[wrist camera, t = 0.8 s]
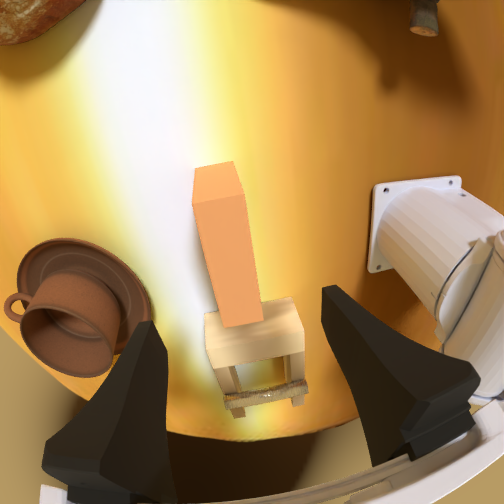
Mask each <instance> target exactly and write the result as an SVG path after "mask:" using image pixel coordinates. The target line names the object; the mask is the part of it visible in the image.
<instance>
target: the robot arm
mask: <svg viewBox="0 0 504 504" xmlns="http://www.w3.org/2000/svg"><path fill="white" fill-rule="evenodd" d="M449 182H450V183H449ZM385 188H387V189H386V191H385V192H383V191H384V189H385ZM378 265H379V266H378ZM377 266H378V267H377ZM392 268H394V269H395V270H396V271H397V272H398V274H399V275H400V276H401V277H402V278H403V280H404V281H405V282H406V283H407V284H408V286H409V287H410V288H411V289H412V290H413V292H414V293H415V294H416V295H417V297H418V298H419V299H420V300H421V302H422V303H423V304H424V305H425V307H426V308H427V309H428V311H429V312H430V313H431V314H432V316H433V317H434V318H435V320H436V321H437V327H436V329H435V331H434V333H435V335H436V336H437V337H438V339H439V340H440V342H441V343H442V345H441V346H440V348H439V352H437V351H434V350H432V349H429V348H427V347H425V346H423V345H421V344H419V343H417V342H414V341H413V340H411V339H409V338H407V337H405V336H403V335H402V334H400V333H398V332H397V331H395V330H393V329H392V328H390V327H389V326H387V325H386V324H384V323H383V322H382V321H380V320H379V319H377V318H376V317H375V316H373V315H372V314H371V313H370V312H368V311H367V310H366V309H364V308H363V307H362V306H361V305H359V304H358V303H357V302H356V301H355V300H353V299H352V298H351V297H350V296H349V295H348V294H346V293H345V292H344V291H343V290H342V289H341V288H339V287H338V286H337V285H331V286H327V287H323V288H322V312H321V323H322V326H323V329H324V332H325V334H326V337H327V340H328V343H329V345H330V347H331V349H332V351H333V353H334V355H335V357H336V359H337V361H338V363H339V365H340V367H341V369H342V371H343V373H344V375H345V377H346V380H347V382H348V384H349V386H350V389H351V392H352V394H353V397H354V400H355V403H356V406H357V409H358V413H359V416H360V419H361V422H362V426H363V430H364V433H365V437H366V441H367V445H368V449H369V453H370V458H371V462H372V467H373V468H370V469H368V470H365V471H362V472H359V473H356V474H353V475H350V476H347V477H344V478H341V479H338V480H335V481H331V482H328V483H324V484H321V485H317V486H313V487H309V488H305V489H301V490H297V491H292V492H288V493H283V494H277V495H272V496H266V497H260V498H253V499H246V500H238V501H229V502H219V503H204V504H317V503H320V502H324V501H328V500H331V499H335V498H338V497H341V496H344V495H347V494H350V493H353V492H356V491H359V490H362V489H365V488H367V487H370V486H372V487H370V488H368V489H366V490H363V491H361V492H358V493H356V494H354V495H351V497H350V500H348V501H346V502H345V503H344V504H432V503H433V502H435V501H437V500H439V499H440V498H442V497H444V496H445V495H447V494H448V493H450V492H452V491H453V490H455V489H456V488H458V487H460V486H461V485H463V484H464V483H466V482H467V481H469V480H470V479H471V478H473V477H474V476H476V475H477V474H478V473H480V472H481V471H483V470H484V469H485V468H486V467H488V466H489V465H490V464H492V463H493V462H494V461H496V460H497V459H498V458H499V457H501V456H502V455H503V454H504V216H503V215H501V214H500V213H498V212H497V211H496V210H494V209H493V208H491V207H490V206H488V205H487V204H485V203H484V202H482V201H481V200H479V199H477V198H476V197H474V196H473V195H471V194H470V193H468V192H466V191H465V190H463V189H461V178H460V177H459V176H446V177H435V178H425V179H416V180H407V181H398V182H390V183H381V184H377V185H376V186H375V187H374V188H373V201H372V219H371V233H370V245H369V255H368V265H367V270H368V271H369V272H370V273H376V272H380V271H384V270H388V269H392ZM167 388H168V353H167V349H166V347H165V345H164V343H163V341H162V339H161V337H160V335H159V333H158V331H157V329H156V327H155V325H154V323H153V321H152V320H150V321H143V322H139V323H138V325H137V326H136V328H135V330H134V332H133V333H132V335H131V337H130V339H129V341H128V342H127V344H126V346H125V348H124V350H123V351H122V353H121V355H120V356H119V358H118V360H117V362H116V363H115V365H114V367H113V368H112V370H111V371H110V373H109V374H108V376H107V378H106V379H105V381H104V382H103V383H102V385H101V386H100V388H99V389H98V390H97V392H96V393H95V394H94V396H93V397H92V398H91V399H90V400H89V401H88V403H87V404H86V405H85V406H84V407H83V408H82V410H81V411H80V412H79V413H78V414H77V415H76V416H75V417H74V418H73V419H72V420H71V421H70V422H69V423H68V424H66V425H65V426H64V427H63V428H62V429H61V430H60V431H58V432H57V433H56V434H55V435H54V436H52V437H51V438H50V439H48V440H47V441H46V444H45V448H44V454H43V460H42V466H41V467H42V469H43V470H44V471H45V472H46V473H47V474H49V475H50V476H52V477H54V478H56V479H58V480H59V481H61V482H63V483H65V484H67V485H68V491H67V490H64V489H61V488H57V487H53V486H49V485H45V484H42V485H41V493H40V503H39V504H176V503H177V502H178V499H177V496H176V491H175V487H174V482H173V477H172V471H171V466H170V459H169V451H168V443H167V432H166V404H167ZM469 403H472V404H476V405H482V406H483V407H481V408H480V409H478V410H477V411H476V412H475V413H473V414H472V415H471V414H470V412H469V409H470V408H471V405H470V404H469ZM378 483H379V484H378ZM375 484H377V485H375ZM373 485H374V486H373Z"/></svg>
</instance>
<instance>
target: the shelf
mask: <svg viewBox="0 0 504 504" xmlns="http://www.w3.org/2000/svg"><path fill="white" fill-rule="evenodd" d="M261 306H262V312H263V319H264V321H259V322H254V323H249V324H244V325H238V326H233V327H227V328H224V326H223V322H222V319H221V315H220V312H219V311H216V312H210V313H205V314H204V320H205V342H206V351H207V354H208V357H209V359H210V362H211V364H212V367H213V369H214V372H215V374H216V377H217V379H218V382H219V384H220V386H221V389H222V391H223V394H224V404H225V407H226V410H228V409H230V410H231V412H232V414H233V417H234V418H240V417H246V416H245V410H244V407H246V406H252V405H257V404H262V403H267V402H272V401H277V400H282V399H286V398H291V401H292V405H293V407H295V406H300V405H304V394H307V393H308V386H307V382H306V380H305V351H304V328H303V326H302V323H301V321H300V318H299V315H298V313H297V310H296V308H295V305H294V302H293V300H292V297H287V298H283V299H278V300H273V301H268V302H263V303H261ZM280 356H283V362H284V373H285V380H286V383H285V384H281V385H276V386H271V387H266V388H261V389H256V390H251V391H245V392H242V391H241V385H240V382H239V379H238V376H237V373H236V369H235V366H234V365H240V364H245V363H250V362H256V361H261V360H266V359H270V358H275V357H280Z"/></svg>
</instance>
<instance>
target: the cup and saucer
mask: <svg viewBox="0 0 504 504" xmlns="http://www.w3.org/2000/svg"><path fill="white" fill-rule="evenodd" d="M17 288H18V293H15V294H13V295H11V296H9V297H8V298H7V300H6V301H5V304H4V311H5V314H6V315H7V317H8V318H10V319H11V320H13V321H15V322H18V323H20V331H21V335H22V338H23V340H24V342H25V343H26V345H27V347H28V348H29V349H30V351H31V352H32V353H33V354H34V355H35V356H36V357H37V358H38V359H39V360H41V361H42V362H43V363H45V364H46V365H48V366H49V367H51V368H53V369H55V370H57V371H59V372H61V373H64V374H67V375H70V376H74V377H81V378H91V377H96V376H100V375H102V374H104V373H105V372H106V371H108V369H109V368H110V366H111V364H112V360H113V355H117V354H121V353H122V351H123V350H124V348H125V346H126V344H127V342H128V341H129V339H130V337H131V335H132V333H133V332H134V330H135V328H136V326H137V325H138V323H139V322H143V321H150V320H151V310H150V304H149V300H148V296H147V294H146V292H145V289H144V287H143V285H142V284H141V282H140V281H139V279H138V278H137V276H136V275H135V274H134V272H133V271H132V270H131V269H130V268H129V267H128V266H127V265H126V264H125V263H124V262H123V261H121V260H120V259H119V258H118V257H116V256H115V255H113V254H112V253H110V252H109V251H107V250H105V249H104V248H102V247H100V246H97V245H95V244H93V243H90V242H87V241H83V240H79V239H74V238H56V239H51V240H47V241H44V242H42V243H40V244H38V245H36V246H35V247H33V248H32V249H31V250H30V251H29V252H28V253H27V254H26V255H25V256H24V258H23V259H22V261H21V263H20V265H19V268H18V273H17ZM17 300H21V302H22V305H23V307H24V309H25V312H24V314H23V315H19V314H16V313H14V312H13V311H12V310H11V305H12V304H13V303H14V302H15V301H17Z"/></svg>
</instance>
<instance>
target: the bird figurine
mask: <svg viewBox="0 0 504 504" xmlns="http://www.w3.org/2000/svg"><path fill="white" fill-rule="evenodd" d="M438 2H439V0H410V27H409V29H410V31H412V32H413V33H416V34H419V35H423V36H430V37H433V36H437V35H438V33H439V32H438V22H437V4H436V3H438Z"/></svg>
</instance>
